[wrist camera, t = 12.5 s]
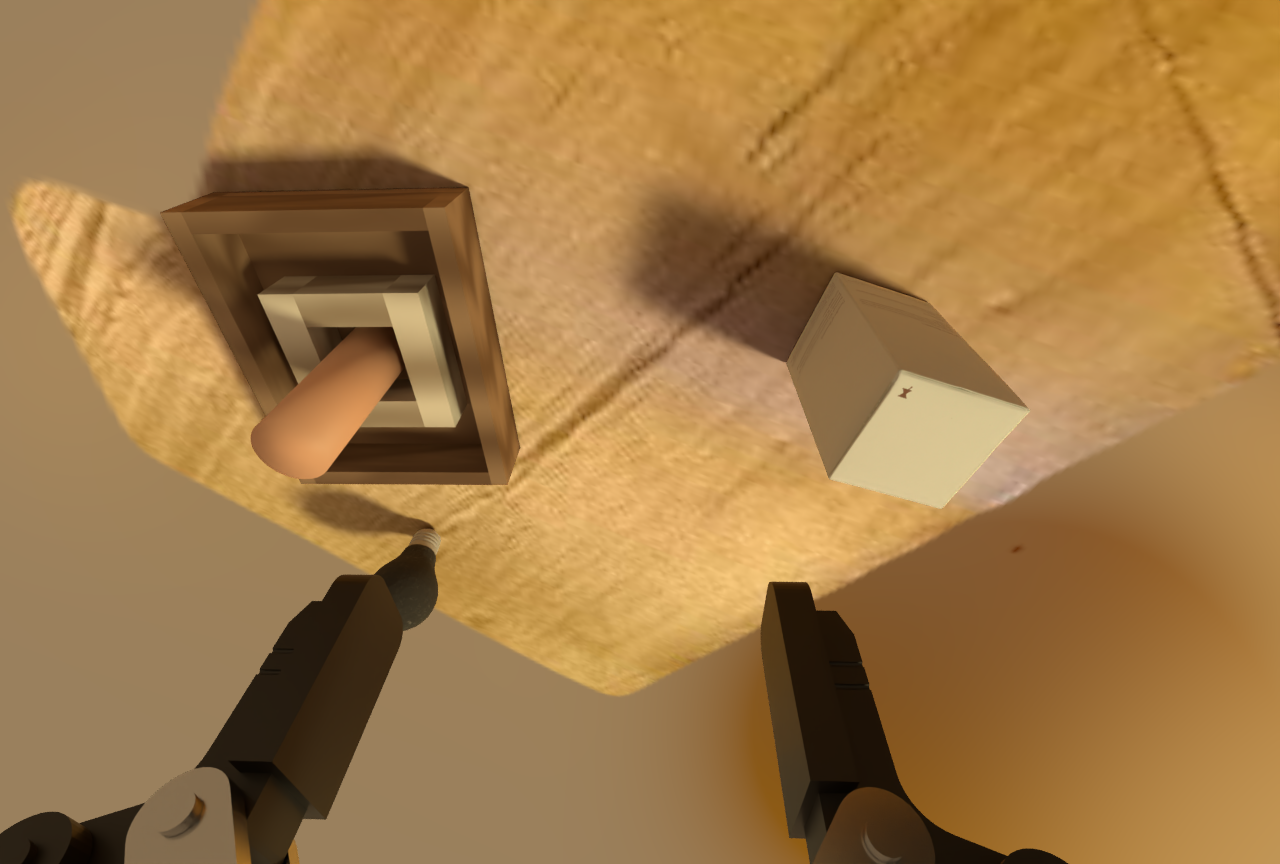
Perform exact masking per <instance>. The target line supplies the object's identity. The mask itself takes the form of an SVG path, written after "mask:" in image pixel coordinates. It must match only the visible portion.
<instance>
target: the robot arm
mask: <svg viewBox="0 0 1280 864" xmlns="http://www.w3.org/2000/svg"><path fill="white" fill-rule="evenodd" d="M402 634H403V622H402V618H401V615H400V613H399V611H398V609H397V607H396V605H395V602H394V600H393V598H392V596H391V594H390V592H389V590H388V587H387V585H386V583H385V581H384V579H383V578H382V577H381V576H379V575H341V576H339V577H338V578H337V579H336V580H335V581H334V582H333V584H332V585H331V587H330V589H329V590H328V592H327V594H326V595H325V597H324V599H323V600H322V601H312V602H311V603H310V604H309V605H308V606H306V607H305V608H304V609H303V610H302V611H301V612H300V613H299V614H298V615H297V616H296V617H294V618H293V619H292V620H291V621H290V622H289V623H288V625H287V627H286V628H285V630H284V631H283V633H282V634H281V636H280V637H279V639H278V641H277V642H276V644H275V645H274V647H273V652H272V653H270V654H269V655H268V657H267V658H266V660H265V662H264V663H263V665H262V666H261V668H260V673H259V674H258V675H256V676H255V677H254V679H253V680H252V682H251V684H250V685H249V687H248V688H247V690H246V692H245V693H244V695H243V696H242V698H241V700H240V701H239V703H238V704H237V706H236V708H235V709H234V711H233V712H232V714H231V716H230V717H229V719H228V720H227V722H226V723H225V725H224V727H223V728H222V730H221V732H220V733H219V735H218V736H217V738H216V740H215V741H214V743H213V744H212V746H211V747H210V749H209V751H208V752H207V754H206V755H205V756H204V758H203V759H202V761H201V762H200V763H199V764H198V765H197V766H196V768H195V769H193V770H190V771H187V772H185V773H183V774H181V775H179V776H177V777H175V778H174V779H172V780H170V781H169V782H168V783H166V784H165V785H164V786H162V787H161V788H160V789H159V790H157V791H156V792H155V793H154V794H153V795H152V796H151V797H150V798H149V799H148V800H147V801H146V802H145V803H143V804H140V805H137V806H134V807H131V808H127V809H124V810H121V811H117V812H114V813H111V814H108V815H104V816H101V817H98V818H95V819H92V820H88V821H85V822H82V823H78V822H76V821H74V820H73V819H71V818H69V817H68V816H66V815H64V814H62V813H59V812H45V813H40V814H37V815H34V816H31V817H29V818H26V819H24V820H22V821H20V822H18V823H16V824H14V825H13V826H11V827H10V828H8V829H6V830H5V831H3V832H2V833H1V834H0V864H300V863H299V857H298V851H297V846H296V842H295V840H294V837H295V835H296V833H297V830H298V828H299V826H300V824H301V822H302V819H326V818H327V816H328V814H329V811H330V809H331V807H332V804H333V802H334V800H335V797H336V795H337V792H338V790H339V788H340V785H341V783H342V781H343V778H344V776H345V774H346V771H347V769H348V767H349V764H350V762H351V760H352V757H353V755H354V752H355V750H356V748H357V746H358V743H359V741H360V739H361V736H362V734H363V731H364V729H365V727H366V724H367V722H368V719H369V717H370V715H371V713H372V710H373V708H374V706H375V703H376V701H377V699H378V696H379V694H380V692H381V689H382V687H383V684H384V682H385V680H386V677H387V675H388V673H389V670H390V668H391V666H392V663H393V661H394V659H395V656H396V654H397V652H398V649H399V647H400V643H401V640H402ZM761 651H762V659H763V666H764V673H765V679H766V686H767V692H768V699H769V706H770V712H771V719H772V725H773V732H774V739H775V744H776V752H777V759H778V765H779V772H780V778H781V785H782V791H783V798H784V805H785V812H786V818H787V825H788V831H789V838H805V839H806V842H807V848H808V854H809V860H810V864H1068V863H1066V862H1065V861H1063V860H1062V859H1060V858H1058V857H1056V856H1055V855H1053V854H1050V853H1048V852H1045V851H1042V850H1037V849H1021V850H1017V851H1015V852H1013V853H1011V854H1010V855H1009V856H1006V855H1003V854H1001V853H998V852H996V851H993V850H991V849H988V848H985V847H983V846H981V845H978V844H975V843H973V842H970V841H968V840H965V839H963V838H960V837H958V836H955V835H953V834H951V833H949V832H946V831H944V830H943V829H941V828H939V827H938V826H936V825H935V824H934V823H932V822H931V821H930V820H928V819H927V818H926V817H925V816H924V815H923V814H922V813H921V812H920V811H919V810H918V809H917V808H916V807H915V806H914V804H913V803H912V802H911V801H910V799H909V798H908V796H907V795H906V793H905V791H904V790H903V788H902V786H901V784H900V782H899V779H898V776H897V773H896V770H895V767H894V763H893V760H892V757H891V754H890V751H889V747H888V744H887V741H886V738H885V734H884V731H883V728H882V724H881V721H880V718H879V715H878V711H877V708H876V705H875V702H874V698H873V695H872V692H871V690H870V689H869V682H868V679H867V676H866V672H865V669H864V667H863V666H862V659H861V656H860V653H859V649H858V646H857V643H856V639H855V636H854V634H853V633H852V631H851V630H850V629H849V628H848V626H847V625H846V624H845V622H844V621H843V620H842V618H841V617H840V616H839V614H838V613H837V612H836V611H816V609H815V605H814V601H813V597H812V593H811V590H810V587H809V585H808V583H806V582H769V584H768V589H767V595H766V600H765V606H764V612H763V618H762V624H761Z"/></svg>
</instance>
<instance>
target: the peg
mask: <svg viewBox="0 0 1280 864" xmlns="http://www.w3.org/2000/svg"><path fill="white" fill-rule="evenodd" d="M404 368H405V363H404V360H403V357H402V354H401V351H400V348H399V344H398V341H397V338H396V335H395V332H394V329H393V327H356V328H355V329H354V330H353V331H352V332H351V333H350V334H349V335H348V336H347V337H346V338H345V339H344V340H342V341H341V342H340V343H339V344H338V345H337V346H336V347H335V348H334V349H333V350H332V351H331V352H330V353H329V354H328V355H327V356H326V357H325V358H324V359H323V360H322V361H321V362H320V363H319V364H318V365H317V366H316V367H315V368H314V369H313V370H312V371H311V372H310V373H309V374H308V375H307V376H306V377H305V378H304V379H303V380H302V381H301V382H300V383H299V384H298V385H297V386H296V387H295V388H294V389H293V390H292V391H291V392H290V393H289V394H288V395H287V396H286V397H285V398H284V399H283V400H282V401H281V402H280V403H279V404H278V405H277V406H276V407H275V408H274V409H273V410H272V411H271V412H270V413H269V414H268V415H267V416H266V417H265V418H264V419H263V420H262V421H261V422H260V423H258V424H257V425H256V426H255V428H254V429H253V431H252V433H251V444H252V447H253V449H254V451H255V452H256V454H257V455H258V457H259V458H260V459H261V460H262V461H263V462H264V463H265V464H267V465H268V466H269V467H271V468H272V469H274V470H275V471H277V472H279V473H281V474H284V475H286V476H289V477H293V478H298V479H313V478H317V477H319V476H321V475H323V474H324V473H325V472H326V471H327V470H328V469H329V467H330V466H331V465H332V463H333V462H334V461H335V459H336V458H337V457H338V455H339V454H340V453H341V451H342V450H343V449H344V447H345V446H346V445H347V443H348V442H349V441H350V439H351V438H352V437H353V436H354V434H355V433H356V432H357V430H358V429H359V428H360V426H361V425H362V424H363V422H364V421H365V420H366V418H367V417H368V416H369V414H370V413H371V412H372V410H373V409H374V408H375V406H376V405H377V404H378V402H379V401H380V400H381V398H382V397H383V396H384V394H385V393H386V392H387V390H388V389H389V388H390V386H391V385H392V384H393V382H394V381H395V380H396V378H397V377H398V376H399V374H400V373H401V372H402V370H403V369H404Z"/></svg>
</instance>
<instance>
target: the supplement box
mask: <svg viewBox="0 0 1280 864" xmlns="http://www.w3.org/2000/svg"><path fill="white" fill-rule="evenodd" d="M787 367H788V370H789V372H790V375H791V378H792V381H793V383H794V386H795V388H796V391H797V394H798V397H799V399H800V402H801V405H802V407H803V410H804V413H805V415H806V418H807V421H808V423H809V426H810V429H811V432H812V434H813V437H814V440H815V442H816V445H817V448H818V450H819V453H820V456H821V458H822V461H823V464H824V466H825V469H826V472H827V475H828V478H829V479H830V480H834V481H838V482H842V483H846V484H849V485H853V486H857V487H861V488H865V489H869V490H872V491H876V492H880V493H883V494H887V495H891V496H895V497H898V498H902V499H906V500H910V501H913V502H917V503H920V504H924V505H928V506H932V507H935V508H939V509H942V508H943V507H944V506H945V505H946V504H947V503H948V502H949V501H950V499H951V498H952V497H953V496H954V495H955V494H956V493H957V492H958V491H959V489H960V488H961V487H962V486H963V485H964V484H965V483H966V482H967V480H968V479H969V478H970V477H971V476H972V475H973V474H974V473H975V472H976V470H977V469H978V468H979V467H980V466H981V465H982V464H983V463H984V461H985V460H986V459H987V458H988V457H989V456H990V454H991V453H992V452H993V451H994V450H995V449H996V448H997V446H998V445H999V444H1000V443H1001V442H1002V441H1003V440H1004V439H1005V438H1006V437H1007V436H1008V435H1009V434H1010V432H1011V431H1012V430H1013V429H1014V428H1015V427H1016V426H1017V425H1018V424H1019V423H1020V422H1021V421H1022V419H1023V418H1024V417H1025V416H1026V415H1027V414H1028V413H1029V412H1030V410H1029V408H1028V407H1027V406H1026V405H1025V404H1024V403H1023V402H1022V401H1021V399H1020V398H1019V397H1018V396H1017V395H1016V394H1015V393H1014V392H1013V391H1012V390H1011V389H1010V387H1009V386H1008V385H1007V384H1006V383H1005V382H1004V381H1003V380H1002V379H1001V378H1000V377H999V376H998V375H997V374H996V373H995V372H994V371H993V370H992V368H991V367H990V366H989V365H988V364H987V363H986V362H985V361H984V360H983V359H982V358H981V357H980V356H979V355H978V354H977V353H976V352H975V351H974V350H973V349H972V348H971V347H970V346H969V345H968V343H967V342H966V341H965V340H964V339H963V338H962V337H961V336H960V335H959V334H958V333H957V332H956V331H955V330H954V329H953V328H952V327H951V326H950V325H949V324H948V322H947V321H946V320H945V319H944V318H943V317H942V316H941V315H940V314H939V313H938V311H937V310H936V309H935V308H934V307H933V306H932V305H931V304H930V303H928V302H925V301H922V300H919V299H916V298H914V297H911V296H908V295H905V294H902V293H899V292H896V291H893V290H889V289H886V288H883V287H880V286H877V285H874V284H871V283H868V282H865V281H862V280H859V279H856V278H853V277H850V276H847V275H844V274H841V273H838V272H836V273H834V275H833V277H832V279H831V280H830V282H829V284H828V286H827V288H826V289H825V291H824V293H823V295H822V297H821V299H820V301H819V303H818V304H817V306H816V308H815V310H814V312H813V314H812V315H811V317H810V319H809V321H808V323H807V324H806V326H805V328H804V330H803V332H802V334H801V336H800V338H799V339H798V341H797V343H796V345H795V347H794V349H793V350H792V352H791V354H790V356H789V358H788V360H787Z"/></svg>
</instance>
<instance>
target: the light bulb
mask: <svg viewBox="0 0 1280 864" xmlns="http://www.w3.org/2000/svg"><path fill="white" fill-rule="evenodd" d="M440 542H441V538H440V536H439V535H438V534H437V533H436V531H435V530H433V529H430V528H429V529H421V530H418V531H417V532H416V533H415V535H414V536H413V538H412V540H411V542H410V544H409V546H408V547H406V548H405V550H404V551H403V552H402V554H401V555H400V556H398V557H397V558H396V559H394V560H392V561H391V562H389V563H387V564H386V565H384V566H383V567H381V568H380V569H379V570H378V571H377V572H376V573H375V574H374V575H379V576H381V577H382V578H383V579H384V581H385V583H386V585H387V587H388V590H389V592H390V594H391V596H392V598H393V600H394V602H395V605H396V607H397V609H398V611H399V613H400V615H401V618H402V622H403V631H405V630H408V629H410V628H413V627H416V626H417V625H419V624H420V623H421V622H423V621H424V620H425V619H426V618H427V617H428V616H429V615H430V613H431V612H432V610H433V608H434V606H435V604H436V601H437V597H438V583H437V579H436V575H435V568H434V567H435V562H436V554H437V551H438V549H439V546H440Z"/></svg>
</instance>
